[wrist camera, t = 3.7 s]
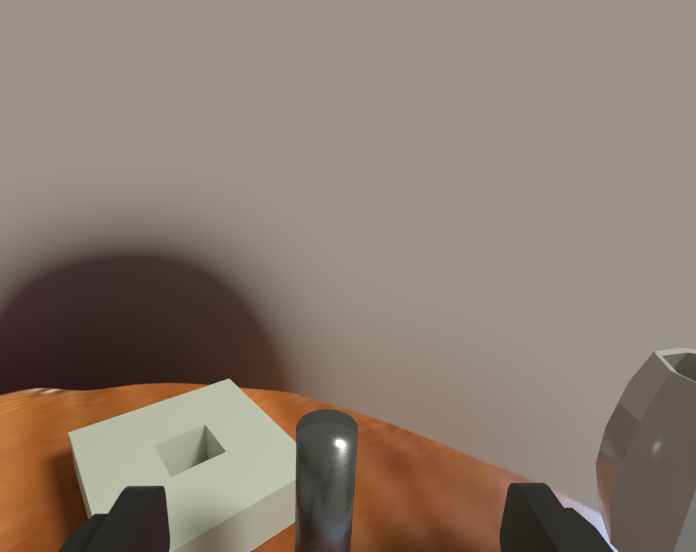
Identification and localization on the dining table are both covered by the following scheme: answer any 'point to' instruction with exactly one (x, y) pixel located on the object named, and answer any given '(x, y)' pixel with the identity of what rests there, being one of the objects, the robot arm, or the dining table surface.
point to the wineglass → (652, 458)
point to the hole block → (195, 467)
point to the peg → (325, 481)
